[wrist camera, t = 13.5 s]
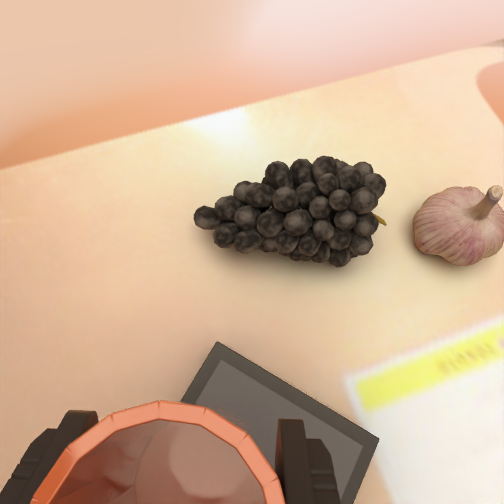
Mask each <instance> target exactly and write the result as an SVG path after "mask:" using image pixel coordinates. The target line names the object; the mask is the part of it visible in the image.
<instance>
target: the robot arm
mask: <svg viewBox="0 0 504 504" xmlns="http://www.w3.org/2000/svg"><path fill="white" fill-rule="evenodd" d="M97 423H98V416H97V413H96V411H84V410H69V411H68V412H67V413H66V414H65V416H64V418H63V420H62V421H61V423H60V425H59V427H58V428H57V429H49V428H47V429H46V430H45V431H44V432H43V433H42V434H41V435H40V436H38V437H37V438H36V439H35V440H34V441H33V442H32V443H31V444H30V446H29V447H28V449H27V451H26V452H25V454H24V456H23V457H22V459H21V460H20V464H18V465H17V467H16V469H15V470H14V472H13V473H12V477H11V479H9V480H8V482H7V483H6V485H5V486H4V488H3V490H2V491H1V493H0V504H30V503H31V500H32V498H33V495H34V494H35V492H36V491H37V489H38V488H39V486H40V485H41V483H42V482H43V480H44V479H45V477H46V476H47V474H48V473H49V472H50V470H51V469H52V467H53V466H54V464H55V463H56V461H57V460H58V458H59V457H60V455H61V454H62V452H63V451H64V449H65V448H67V447H68V445H69V444H71V443H72V442H73V441H75V440H76V439H77V438H79V437H80V436H81V435H83V434H84V433H85V432H87V431H88V430H89V429H91V428H92V427H93V426H95V425H96V424H97ZM275 472H276V474H277V476H278V478H279V480H280V484H281V488H282V492H283V496H284V500H285V503H286V504H341V502H340V497H339V492H338V489H337V482H336V477H335V475H334V467H333V462H332V458H331V454H330V452H329V451H328V449H327V448H326V446H325V445H324V443H323V442H322V440H321V439H309V438H306V434H305V427H304V422H303V419H286V418H279V419H278V428H277V439H276V449H275Z"/></svg>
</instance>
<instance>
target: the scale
mask: <svg viewBox="0 0 504 504" xmlns="http://www.w3.org/2000/svg"><path fill="white" fill-rule="evenodd" d="M180 402H186V403H197V404H204V405H211V406H218V407H221V408H224V409H225V410H227V411H229V412H230V413H232V414H234V415H235V416H237V417H238V418H240V419H241V420H243V421H244V422H245V423H246V425H247V426H248V428H249V429H250V430H251V432H252V433H253V435H254V436H255V438H256V439H257V440H258V442H259V443H260V445H261V447H262V449H263V450H264V452H265V454H266V456H267V458H268V459H269V461H270V463H271V465H272V467H273V468H274V470H275V449H276V439H277V428H278V419H279V418H286V419H303V422H304V427H305V434H306V438H309V439H321V440H322V442H323V443H324V445H325V446H326V448H327V449H328V451H329V452H330V454H331V458H332V462H333V467H334V475H335V477H336V482H337V489H338V492H339V497H340V502H341V504H353V503H354V500H355V498H356V495H357V493H358V490H359V488H360V486H361V483H362V481H363V478H364V476H365V473H366V471H367V469H368V466H369V464H370V461H371V459H372V456H373V454H374V452H375V449H376V447H377V444H378V442H379V438H378V437H376V436H374V435H373V434H371V433H369V432H368V431H366V430H364V429H363V428H361V427H359V426H358V425H356V424H354V423H353V422H351V421H349V420H348V419H346V418H344V417H343V416H341V415H339V414H338V413H336V412H334V411H333V410H331V409H329V408H328V407H326V406H324V405H323V404H321V403H319V402H318V401H316V400H314V399H313V398H311V397H309V396H308V395H306V394H304V393H303V392H301V391H299V390H298V389H296V388H294V387H293V386H291V385H289V384H288V383H286V382H284V381H283V380H281V379H279V378H278V377H276V376H274V375H273V374H271V373H269V372H268V371H266V370H264V369H263V368H261V367H260V366H258V365H256V364H255V363H253V362H251V361H250V360H248V359H246V358H245V357H243V356H241V355H240V354H238V353H236V352H235V351H233V350H231V349H230V348H228V347H226V346H225V345H223V344H221V343H220V342H218V341H217V342H216V343H215V345H214V347H213V348H212V350H211V352H210V353H209V355H208V357H207V358H206V360H205V362H204V363H203V365H202V367H201V368H200V370H199V372H198V373H197V375H196V377H195V378H194V380H193V382H192V383H191V385H190V386H189V388H188V390H187V391H186V393H185V395H184V396H183V398H182V400H181V401H180Z"/></svg>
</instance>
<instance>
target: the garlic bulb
mask: <svg viewBox="0 0 504 504" xmlns="http://www.w3.org/2000/svg"><path fill="white" fill-rule="evenodd" d="M502 195H503V189H502V187H500V186H492V187H491V188H489V190H488V192H487V194H486V195H484V194H483V193H482V192H480V190H479V189H477V188H475V187H464V188H462V187H451V188H447V189H445V190H444V191H442V192H441V193H437V194H434V195H432V196H431V197H429V198H428V199H427V200H426V201H425V202H424V204H423V206H422V208H421V209H420V210H419V211H418V212H417V213H416V214H415V216H414V219H413V230H414V233H415V243H416V246H417V248H418V249H419V250H420V251H422V252H423V253H425V254H436V255H440V256H442V257H444V258H445V259H446V260H447V261H449V262H451V263H453V264H455V265H461V266H467V265H472V264H475V263H476V262H478V261H479V260H481V259H482V258H487V257H490V256H492V255H494V254H496V253H497V252H498V251H499V250H500V249H501V247H502V245H503V242H504V211H503V209H502V208H501V207H500V206H499V204H498V203H497V202H498V201H499V200H500V199H501V197H502Z"/></svg>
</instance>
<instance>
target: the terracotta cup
mask: <svg viewBox="0 0 504 504" xmlns="http://www.w3.org/2000/svg"><path fill="white" fill-rule="evenodd" d="M30 504H286V503H285V500H284V496H283V492H282V488H281V484H280V480H279V478H278V476H277V474H276V472H275V470H274V468H273V467H272V465H271V463H270V461H269V459H268V458H267V456H266V454H265V452H264V450H263V449H262V447H261V445H260V443H259V442H258V440H257V439H256V438H255V436H254V435H253V433H252V432H251V430H250V429H249V428H248V426H247V425H246V423H245V422H244V421H243V420H241V419H240V418H238V417H237V416H235V415H234V414H232V413H230V412H229V411H227V410H225V409H224V408H221V407H218V406H211V405H204V404H197V403H186V402H174V401H163V400H161V401H154V402H150V403H147V404H143V405H139V406H136V407H132V408H129V409H125V410H121V411H118V412H114V413H112V414H110V415H108V416H107V417H105V418H104V419H103V420H101V421H100V422H99V423H97V424H96V425H95V426H93V427H92V428H91V429H89V430H88V431H87V432H85V433H84V434H83V435H81V436H80V437H79V438H77V439H76V440H75V441H73V442H72V443H71V444H69V445H68V447H67V448H65V449H64V451H63V452H62V454H61V455H60V457H59V458H58V460H57V461H56V463H55V464H54V466H53V467H52V469H51V470H50V472H49V473H48V474H47V476H46V477H45V479H44V480H43V482H42V483H41V485H40V486H39V488H38V489H37V491H36V492H35V494H34V495H33V498H32V500H31V503H30Z"/></svg>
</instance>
